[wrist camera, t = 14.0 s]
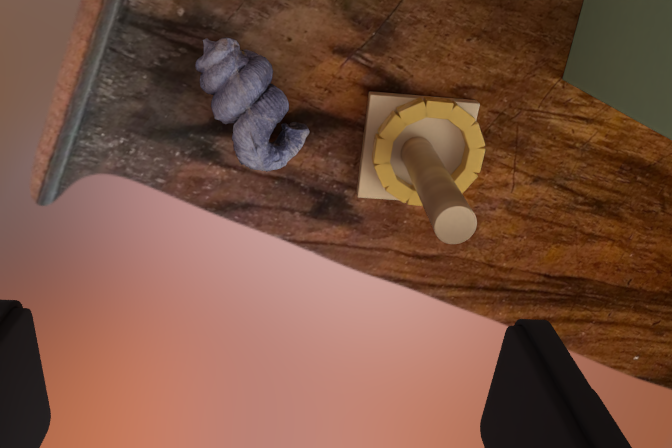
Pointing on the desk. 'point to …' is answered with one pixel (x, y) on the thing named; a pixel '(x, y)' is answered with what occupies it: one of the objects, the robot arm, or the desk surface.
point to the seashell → (249, 104)
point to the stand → (626, 58)
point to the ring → (412, 114)
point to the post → (421, 164)
